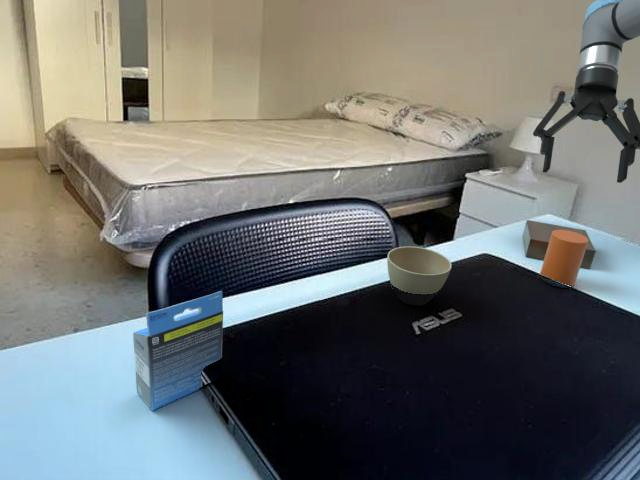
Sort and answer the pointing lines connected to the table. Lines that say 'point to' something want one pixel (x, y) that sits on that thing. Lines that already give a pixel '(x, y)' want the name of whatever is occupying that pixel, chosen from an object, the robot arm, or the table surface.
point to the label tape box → (177, 349)
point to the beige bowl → (417, 269)
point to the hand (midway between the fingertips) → (583, 175)
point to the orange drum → (564, 256)
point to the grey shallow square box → (539, 237)
